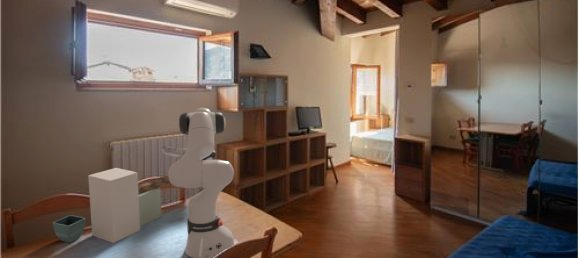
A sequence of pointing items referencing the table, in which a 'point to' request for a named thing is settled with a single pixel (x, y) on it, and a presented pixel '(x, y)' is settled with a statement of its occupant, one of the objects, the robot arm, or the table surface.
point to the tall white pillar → (114, 204)
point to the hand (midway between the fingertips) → (169, 148)
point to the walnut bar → (153, 184)
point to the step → (149, 206)
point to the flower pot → (69, 228)
